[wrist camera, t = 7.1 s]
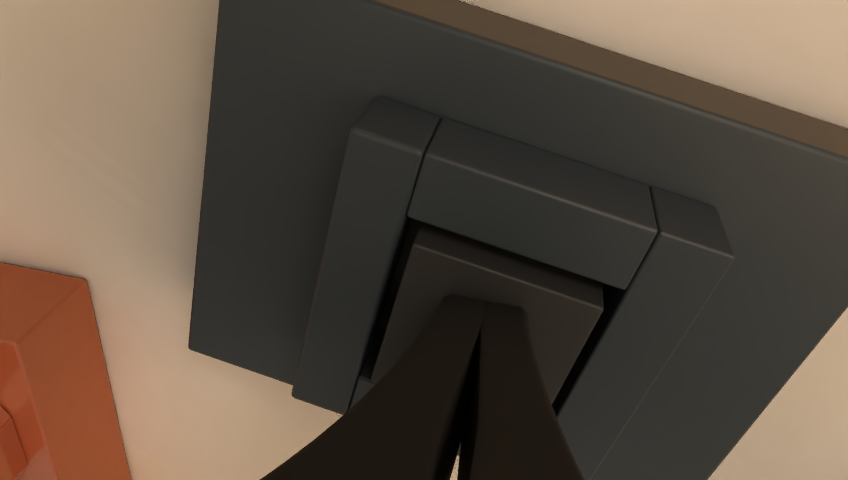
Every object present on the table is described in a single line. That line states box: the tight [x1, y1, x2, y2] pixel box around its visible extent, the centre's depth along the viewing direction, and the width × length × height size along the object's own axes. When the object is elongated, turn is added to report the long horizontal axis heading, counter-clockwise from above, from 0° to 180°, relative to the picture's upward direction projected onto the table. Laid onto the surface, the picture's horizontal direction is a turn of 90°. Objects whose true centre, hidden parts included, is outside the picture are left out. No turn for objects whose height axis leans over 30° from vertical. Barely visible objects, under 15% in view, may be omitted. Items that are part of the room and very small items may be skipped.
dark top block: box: [371, 222, 604, 404], centre depth 12 cm, size 3×3×2 cm
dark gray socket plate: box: [188, 0, 848, 480], centre depth 13 cm, size 9×12×4 cm
